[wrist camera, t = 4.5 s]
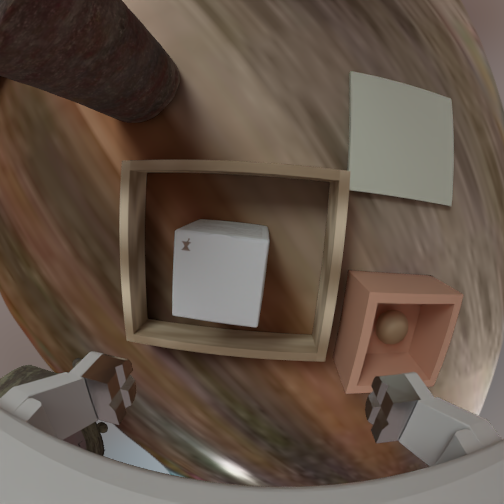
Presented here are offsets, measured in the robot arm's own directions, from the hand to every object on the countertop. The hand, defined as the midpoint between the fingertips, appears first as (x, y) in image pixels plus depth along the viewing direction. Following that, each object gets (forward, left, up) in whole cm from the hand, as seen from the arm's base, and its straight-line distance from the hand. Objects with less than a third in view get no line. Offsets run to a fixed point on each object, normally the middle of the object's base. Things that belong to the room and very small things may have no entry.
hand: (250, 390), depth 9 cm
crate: (0, -3, -17) cm, 17 cm away
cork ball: (+5, +12, -15) cm, 20 cm away
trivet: (-12, +12, -17) cm, 25 cm away
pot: (+5, +12, -17) cm, 22 cm away
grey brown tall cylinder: (-15, -12, -17) cm, 26 cm away
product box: (0, -3, -18) cm, 18 cm away
